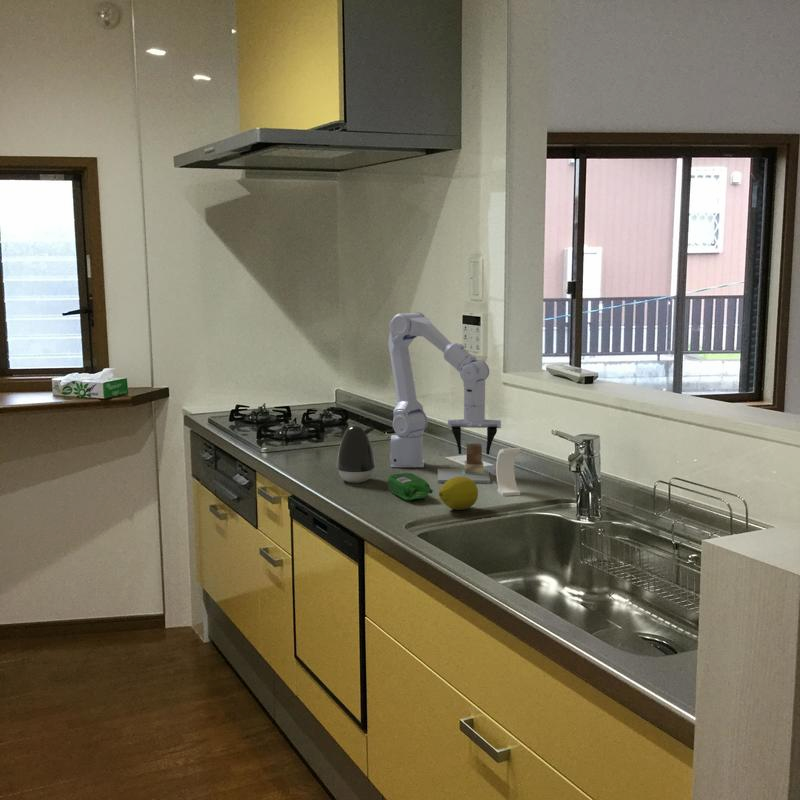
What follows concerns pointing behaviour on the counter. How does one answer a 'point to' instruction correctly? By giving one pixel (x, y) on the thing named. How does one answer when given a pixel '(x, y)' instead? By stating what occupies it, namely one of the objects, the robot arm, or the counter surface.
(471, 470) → the base block
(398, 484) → the snack package
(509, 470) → the headphone stand
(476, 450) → the walnut block
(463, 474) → the board
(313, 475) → the counter surface
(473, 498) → the lemon
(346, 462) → the egg-shaped speaker
